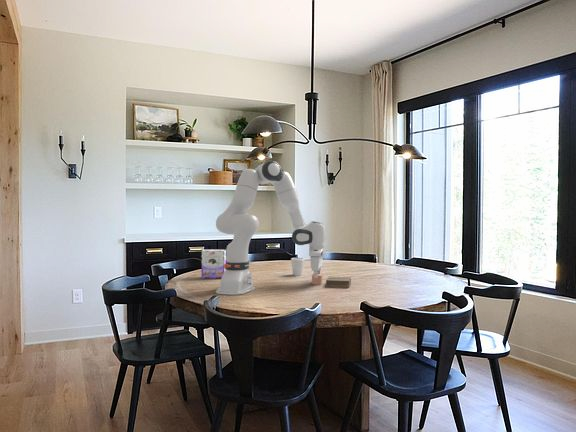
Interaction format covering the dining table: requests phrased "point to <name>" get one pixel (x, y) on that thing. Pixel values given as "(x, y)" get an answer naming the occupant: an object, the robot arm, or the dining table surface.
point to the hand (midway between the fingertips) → (317, 276)
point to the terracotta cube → (317, 280)
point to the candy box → (213, 263)
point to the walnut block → (338, 282)
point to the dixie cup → (297, 266)
